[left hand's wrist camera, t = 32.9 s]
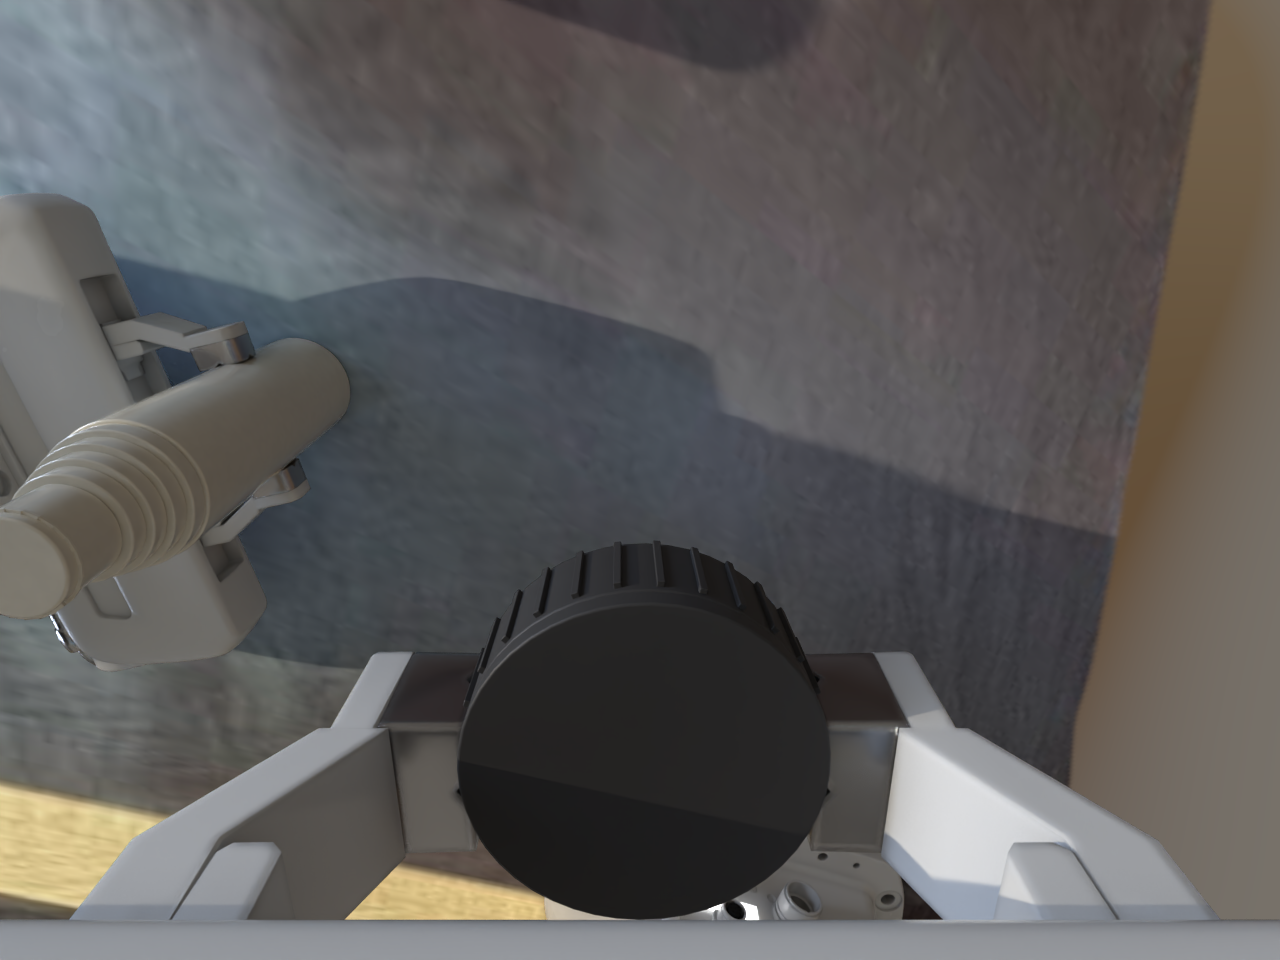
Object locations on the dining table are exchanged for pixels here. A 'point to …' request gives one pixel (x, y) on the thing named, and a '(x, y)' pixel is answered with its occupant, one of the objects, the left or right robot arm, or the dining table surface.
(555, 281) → the dining table surface
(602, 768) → the cap
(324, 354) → the bottle
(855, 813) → the left robot arm
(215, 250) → the dining table surface
